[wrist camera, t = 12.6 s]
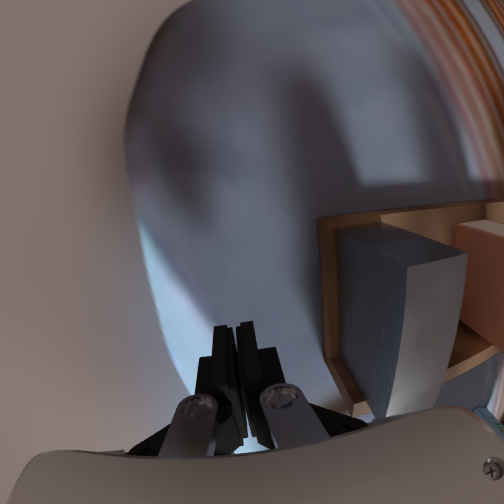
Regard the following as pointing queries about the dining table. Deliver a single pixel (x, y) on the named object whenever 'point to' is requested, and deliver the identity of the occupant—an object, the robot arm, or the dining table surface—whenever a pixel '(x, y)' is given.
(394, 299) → the bookend
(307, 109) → the dining table surface
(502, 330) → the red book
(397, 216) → the shelf
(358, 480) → the robot arm
